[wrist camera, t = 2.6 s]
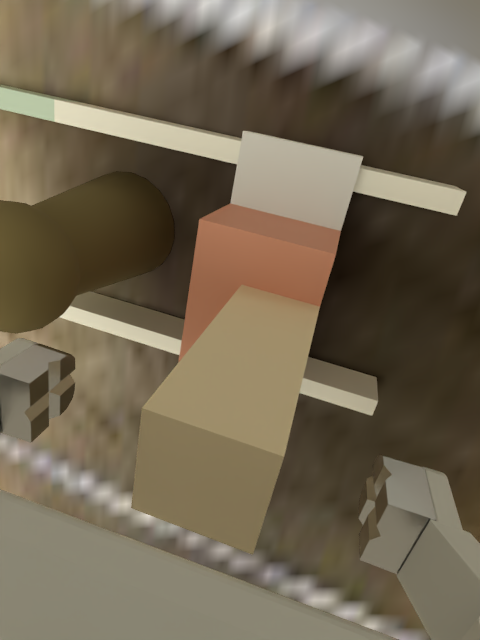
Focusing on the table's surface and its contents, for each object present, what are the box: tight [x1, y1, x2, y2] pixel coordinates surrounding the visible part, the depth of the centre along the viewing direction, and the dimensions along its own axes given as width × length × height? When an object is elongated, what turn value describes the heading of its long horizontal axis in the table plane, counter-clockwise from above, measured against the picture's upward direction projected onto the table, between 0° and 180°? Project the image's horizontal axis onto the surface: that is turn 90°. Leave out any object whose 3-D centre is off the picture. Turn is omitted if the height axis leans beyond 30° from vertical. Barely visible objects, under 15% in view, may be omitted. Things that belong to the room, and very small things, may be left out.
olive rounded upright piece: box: [0, 171, 174, 333], centre depth 20 cm, size 6×6×11 cm
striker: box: [131, 131, 363, 554], centre depth 16 cm, size 5×13×16 cm, turn 169°
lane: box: [0, 84, 466, 416], centre depth 22 cm, size 30×12×6 cm, turn 79°
